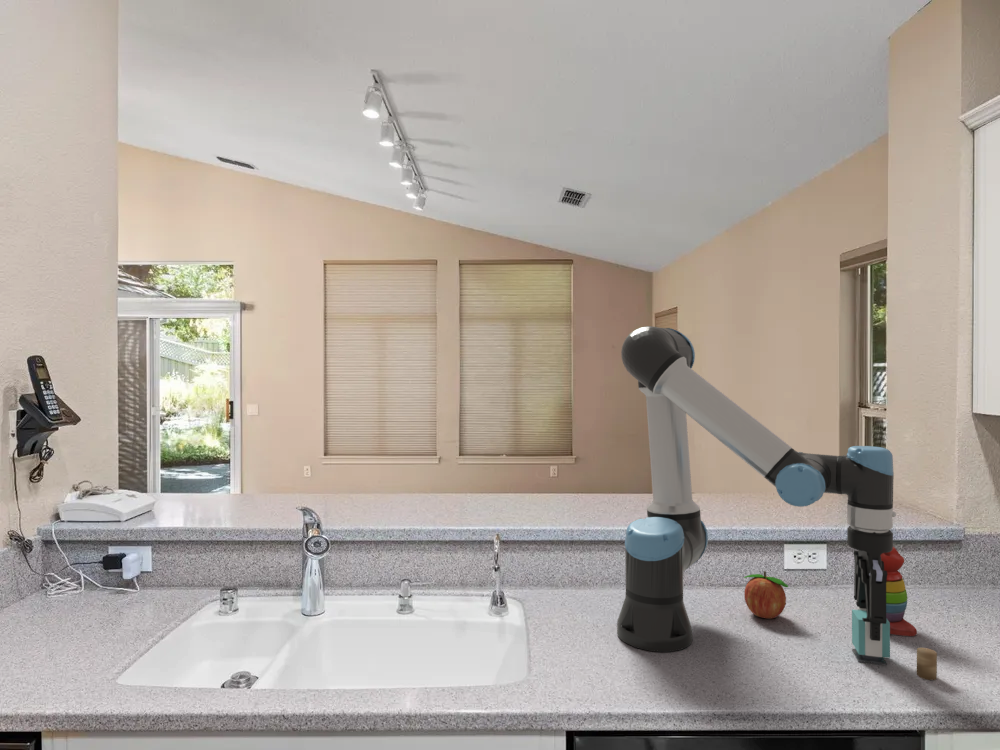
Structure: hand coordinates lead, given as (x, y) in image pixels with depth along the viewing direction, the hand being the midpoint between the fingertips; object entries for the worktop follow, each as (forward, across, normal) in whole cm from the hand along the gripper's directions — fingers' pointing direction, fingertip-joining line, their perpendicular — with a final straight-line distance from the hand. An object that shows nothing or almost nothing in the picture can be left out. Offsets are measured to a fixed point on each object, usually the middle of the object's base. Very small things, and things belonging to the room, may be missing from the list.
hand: (869, 648), depth 120 cm
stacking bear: (+2, +18, -7) cm, 19 cm away
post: (+2, 0, 0) cm, 2 cm away
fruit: (+2, +16, +17) cm, 23 cm away
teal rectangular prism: (0, 0, 0) cm, 0 cm away
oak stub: (+2, -5, -8) cm, 10 cm away
